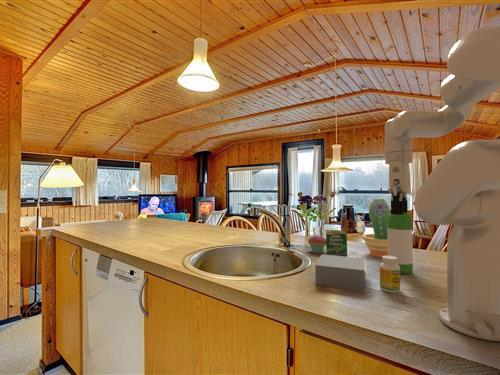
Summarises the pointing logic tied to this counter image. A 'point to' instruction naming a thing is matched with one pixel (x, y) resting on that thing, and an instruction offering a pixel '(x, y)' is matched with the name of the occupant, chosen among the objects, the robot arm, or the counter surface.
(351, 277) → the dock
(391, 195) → the robot arm
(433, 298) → the counter surface
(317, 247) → the cupcake
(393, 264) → the supplement bottle
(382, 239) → the potted cactus
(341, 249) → the coffee box
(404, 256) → the wine bottle
